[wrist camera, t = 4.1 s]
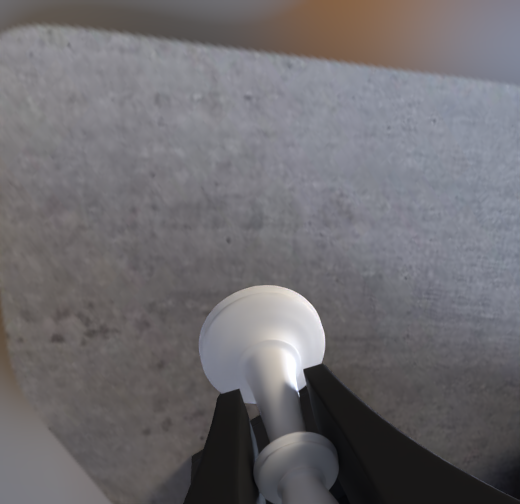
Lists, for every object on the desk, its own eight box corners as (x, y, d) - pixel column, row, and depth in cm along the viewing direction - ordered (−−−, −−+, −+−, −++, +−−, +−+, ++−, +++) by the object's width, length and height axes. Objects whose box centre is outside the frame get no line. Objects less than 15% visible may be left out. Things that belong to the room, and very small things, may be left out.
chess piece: (222, 409, 14) (255, 910, 5) (179, 310, 13) (109, 785, 3) (333, 369, 15) (561, 780, 5) (305, 267, 13) (564, 603, 4)
